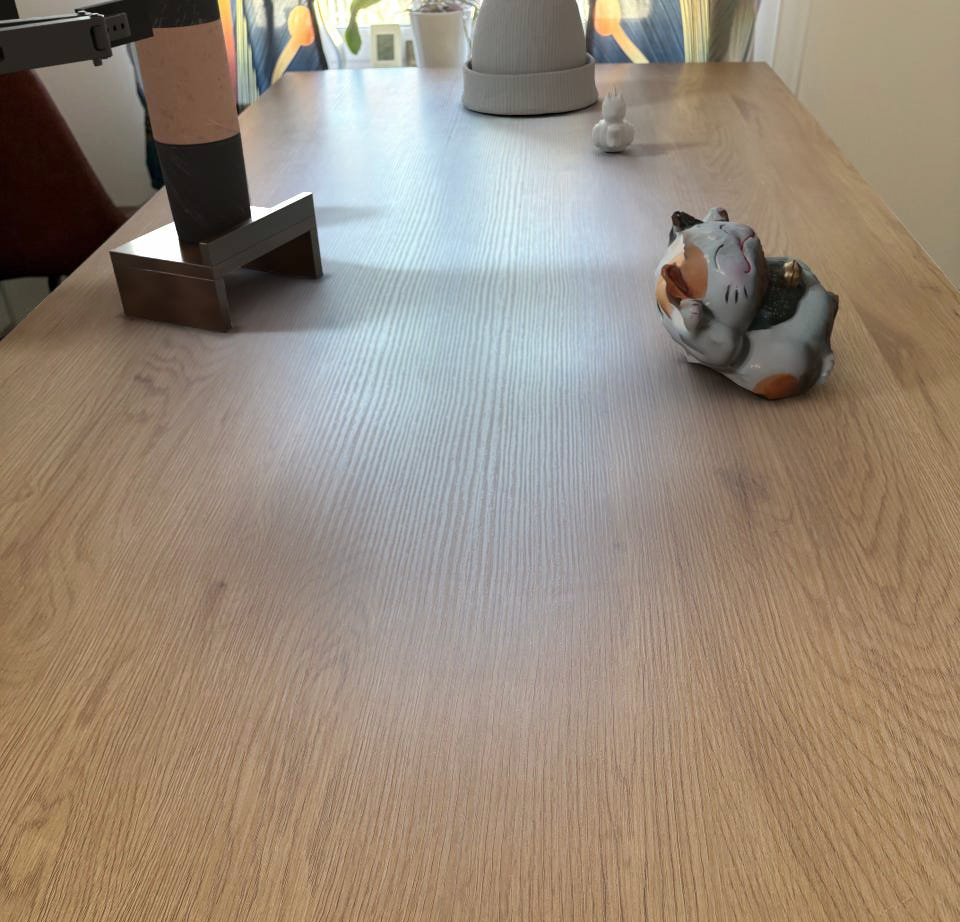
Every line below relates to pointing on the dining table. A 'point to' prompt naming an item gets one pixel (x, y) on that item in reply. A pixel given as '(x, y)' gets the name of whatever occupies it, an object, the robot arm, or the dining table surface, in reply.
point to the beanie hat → (529, 59)
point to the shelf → (214, 264)
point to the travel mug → (194, 117)
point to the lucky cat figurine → (744, 307)
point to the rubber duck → (613, 125)
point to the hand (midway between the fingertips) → (78, 11)
